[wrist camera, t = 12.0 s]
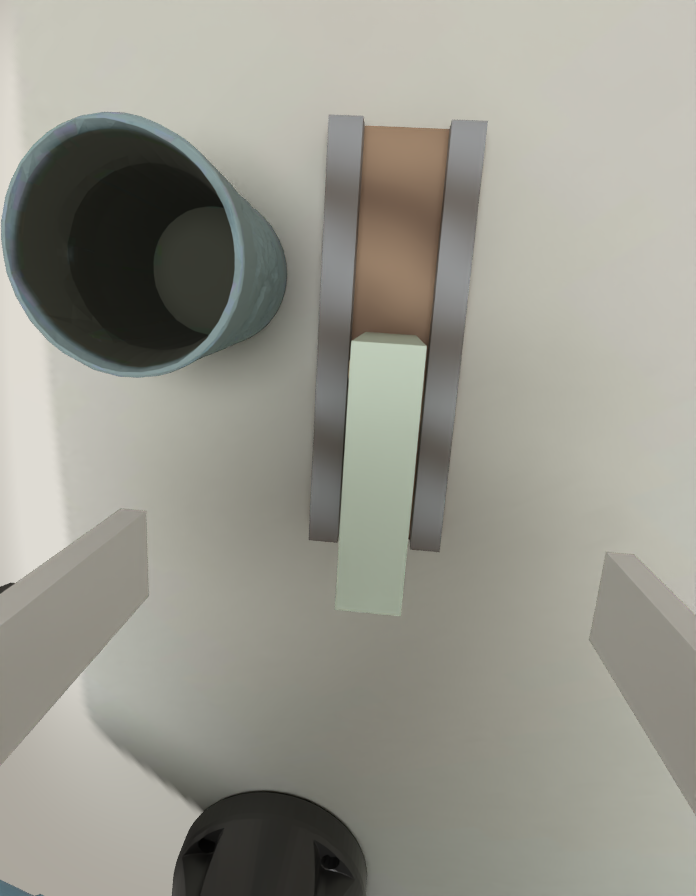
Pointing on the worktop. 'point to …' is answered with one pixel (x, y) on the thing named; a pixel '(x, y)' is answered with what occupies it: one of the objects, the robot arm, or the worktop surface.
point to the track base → (395, 290)
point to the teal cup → (136, 248)
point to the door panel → (379, 471)
